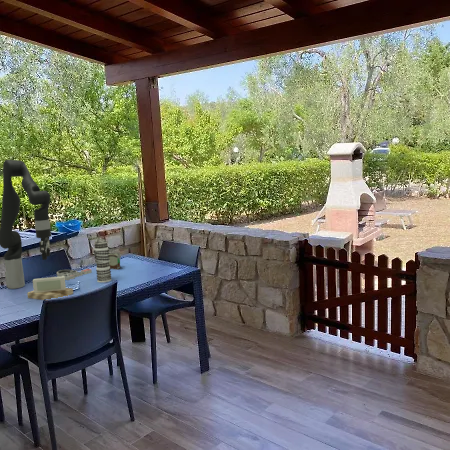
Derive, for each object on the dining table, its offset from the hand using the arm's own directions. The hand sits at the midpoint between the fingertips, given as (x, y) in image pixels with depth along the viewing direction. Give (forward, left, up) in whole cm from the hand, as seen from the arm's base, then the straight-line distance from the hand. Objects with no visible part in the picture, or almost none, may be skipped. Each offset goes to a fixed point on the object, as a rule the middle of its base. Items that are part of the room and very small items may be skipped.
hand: (46, 257), depth 244 cm
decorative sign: (-21, +38, -22) cm, 49 cm away
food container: (-2, +60, -22) cm, 64 cm away
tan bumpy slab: (0, 0, -21) cm, 21 cm away
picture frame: (0, 0, -18) cm, 18 cm away
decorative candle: (+10, +33, -22) cm, 41 cm away
